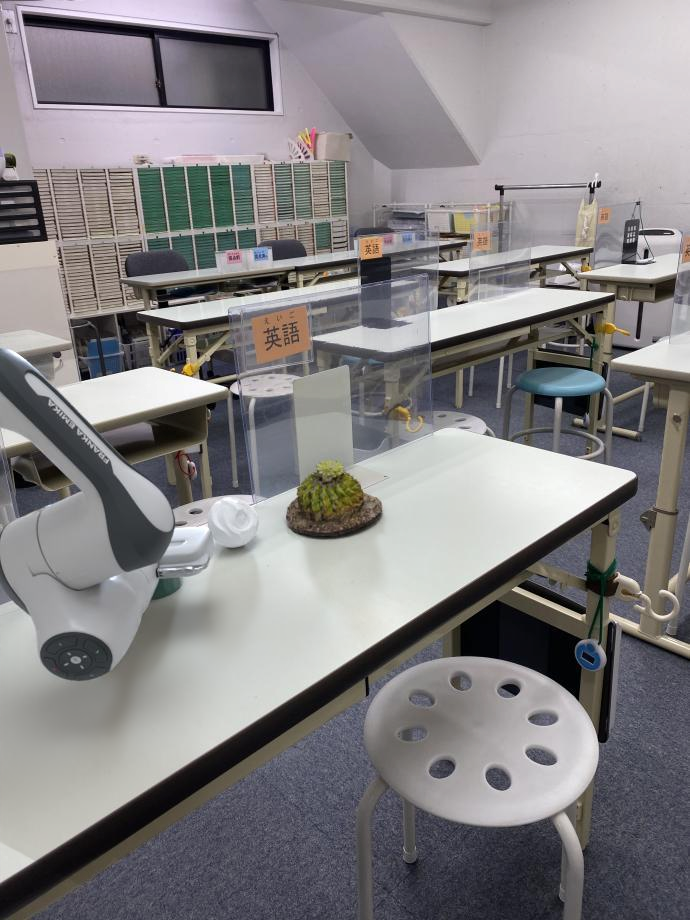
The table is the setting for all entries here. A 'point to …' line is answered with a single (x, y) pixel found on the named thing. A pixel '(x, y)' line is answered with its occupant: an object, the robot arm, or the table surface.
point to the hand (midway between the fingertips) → (147, 526)
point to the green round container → (166, 587)
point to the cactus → (331, 503)
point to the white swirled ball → (232, 522)
